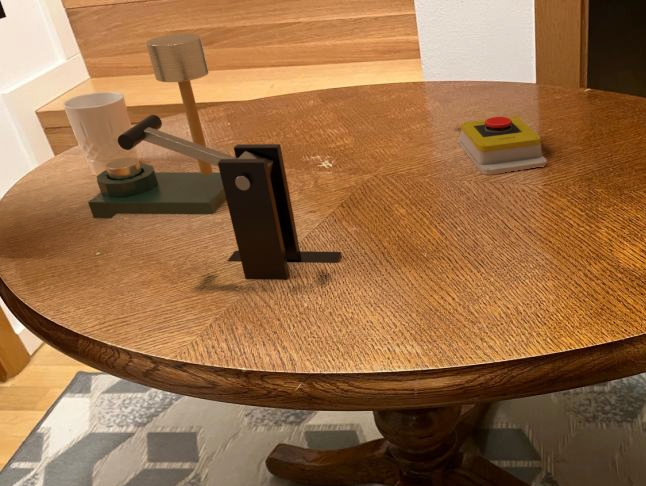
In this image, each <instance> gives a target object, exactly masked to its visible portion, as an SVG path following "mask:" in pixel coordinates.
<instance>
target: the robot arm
mask: <svg viewBox="0 0 646 486" xmlns="http://www.w3.org/2000/svg"><path fill="white" fill-rule="evenodd" d="M5 18H7V15H6V12H5V9H4V6H3V3H2V1H1V0H0V20H1V19H5Z"/></svg>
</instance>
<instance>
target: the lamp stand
mask: <svg viewBox="0 0 646 486" xmlns="http://www.w3.org/2000/svg"><path fill="white" fill-rule="evenodd" d="M145 44H146V49H147V52H148V56H149V59H150V63H151V67H152V71H153V74H154V78H155V80H156V81H157V82H161V83H177V85H178V89H179V92H180V96H181V100H182V104H183V108H184V113H185V116H186V120H187V124H188V128H189V131H190V136H191V139H192V142H193V143H196V144H198V145H201V146H204V147H207V143H206V140H205V136H204V132H203V128H202V122H201V120H200V119H201V118H200V115H199V112H198V111H199V110H198V107H197V103H196V99H195V95H194V91H193V86H192V83H191V81H194V80H197V79H201V78H203V77H205V76H207V75H209V73H210V71H209V67H208V64H207V59H206V54H205V50H204V45H203V42H202V37H201V35H199V34H195V33H177V34H176V33H175V34H168V35H161V36H158V37H157V36H156V37H154V38H151V39H148V40H147V41H146V42H145ZM196 160H197V163H198V167H199V171H200V172H201V174H202V175H209V174H212V172H213V168H212V164H209V163H207V162H204V161H201V160H198V159H196Z"/></svg>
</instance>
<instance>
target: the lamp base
mask: <svg viewBox="0 0 646 486" xmlns="http://www.w3.org/2000/svg"><path fill="white" fill-rule="evenodd" d="M140 166H141V170H142V174H141V175H139V176H136V177H134V178H131V179H125V180H110V178H109V175H108V172H107V170H105V171H103V172H102V173H100V174H99V175H98V176H96V182H97V185H98V188H99V191H100V192H99V193H98V194H97V195H96V196H94V197H93V198H91V199H90V200H88V202H87V204H88V206H89V209H90V212H91V215H92V216H93V217H92V218H93V219H113V217H115V216H116V215H119V214H121V215H123V214H124V215H126V214H127V215H214V213H216V212H217V211H218V209H220V207H221V206H222V205H223V204H224V203H225V202H227V200H226V196H225V191H224V187H223V183H222V179H221V175H220V171H219V172H213V171H212V174H209V175H202V174H201V171H200V172H197V171H195V172H194V171H192V172H190V171H187V172H182V171H181V172H180V171H179V172H174V171H173V172H170V171H169V172H167V171H166V172H165V171H163V172H159V171H158V172H157V171H155V169H154V168H155V167H154V166H153V165H149V164H147V163H140Z"/></svg>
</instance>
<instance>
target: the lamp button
mask: <svg viewBox="0 0 646 486" xmlns="http://www.w3.org/2000/svg"><path fill="white" fill-rule="evenodd" d="M140 164H141V163H140V160H139V158H138V159H136V158H121V159H117V160H113V161H111V162H109V163H107V164H106V169H107V172H108V175H109V178H110V180H125V179H131V178H134V177H136V176H139V175H141V174H142V170H141V166H140Z"/></svg>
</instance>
